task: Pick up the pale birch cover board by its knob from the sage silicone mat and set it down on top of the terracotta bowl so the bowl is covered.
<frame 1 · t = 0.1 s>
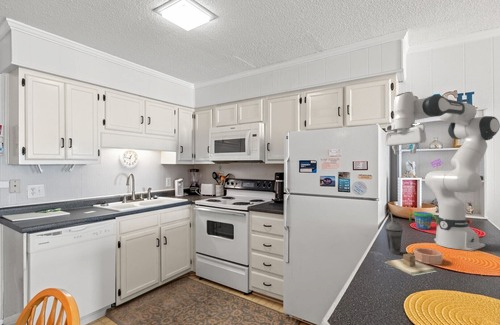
hand: (404, 153, 125), 48 cm above the countertop, tool pointing down, fingers open, 8 cm apart
bowl: (428, 260, 113), on the countertop
snack cup: (423, 228, 169), on the countertop
cover: (409, 266, 106), resting on mat
mat: (409, 267, 106), on the countertop
beverage cup: (394, 254, 123), on the countertop
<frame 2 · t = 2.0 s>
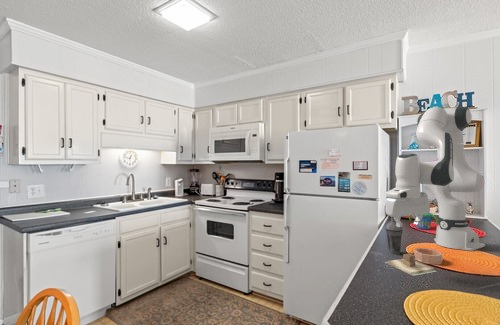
hand: (408, 225, 106), 17 cm above the countertop, tool pointing down, fingers open, 8 cm apart
nothing on the countertop moved.
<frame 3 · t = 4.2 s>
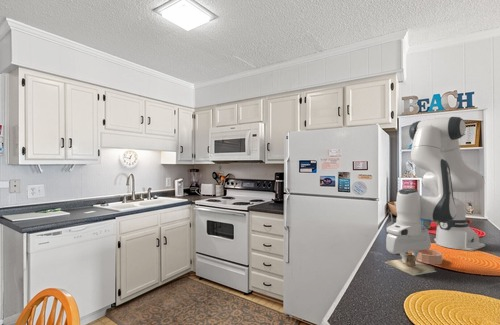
hand: (409, 261, 106), 3 cm above the countertop, tool pointing down, fingers closed on cover, 3 cm apart
cover: (409, 266, 106), resting on mat, touching gripper
everything else where it was.
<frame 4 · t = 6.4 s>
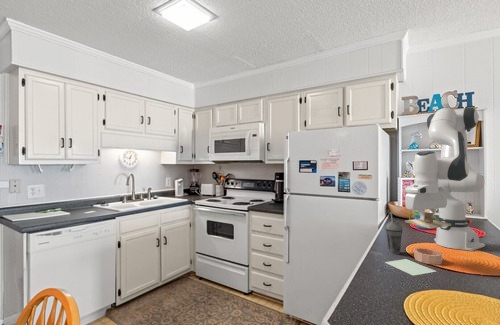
hand: (427, 219, 113), 18 cm above the countertop, tool pointing down, fingers closed on cover, 3 cm apart
cover: (427, 223, 113), point 16 cm above the countertop, touching gripper
everything else where it was.
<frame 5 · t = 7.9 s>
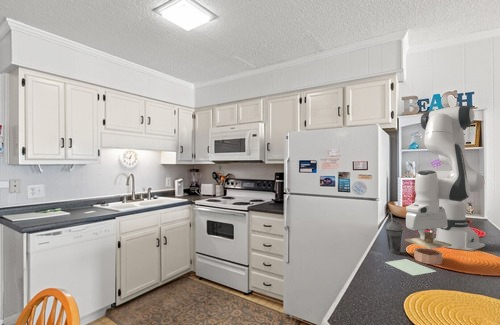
hand: (427, 238, 113), 10 cm above the countertop, tool pointing down, fingers closed on cover, 3 cm apart
cover: (427, 243, 113), point 8 cm above the countertop, touching gripper
everything else where it was.
when the fingers open (8 cm above the countertop, at t = 8.9 s): cover drops 1 cm, resting on bowl.
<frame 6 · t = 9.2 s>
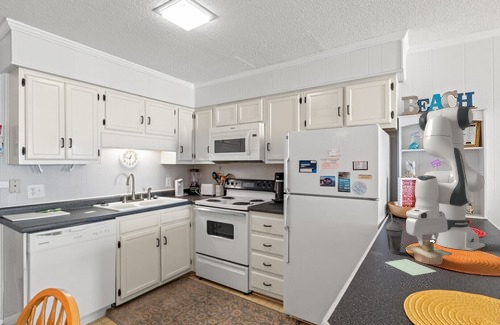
hand: (427, 243, 113), 8 cm above the countertop, tool pointing down, fingers open, 5 cm apart
cover: (427, 251, 113), point 4 cm above the countertop, touching bowl
everything else where it was.
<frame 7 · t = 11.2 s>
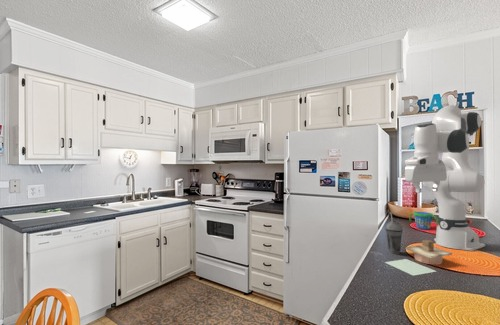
hand: (426, 191, 112), 31 cm above the countertop, tool pointing down, fingers open, 8 cm apart
nothing on the countertop moved.
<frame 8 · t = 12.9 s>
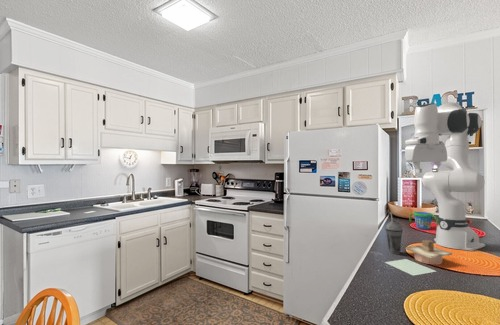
hand: (427, 172, 111), 39 cm above the countertop, tool pointing down, fingers open, 8 cm apart
nothing on the countertop moved.
at the end: cover 0.0 cm from the bowl (horizontally); cover inside the target area (0.7 cm from its centre), point 4.0 cm above the countertop; cover tilted 0° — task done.
